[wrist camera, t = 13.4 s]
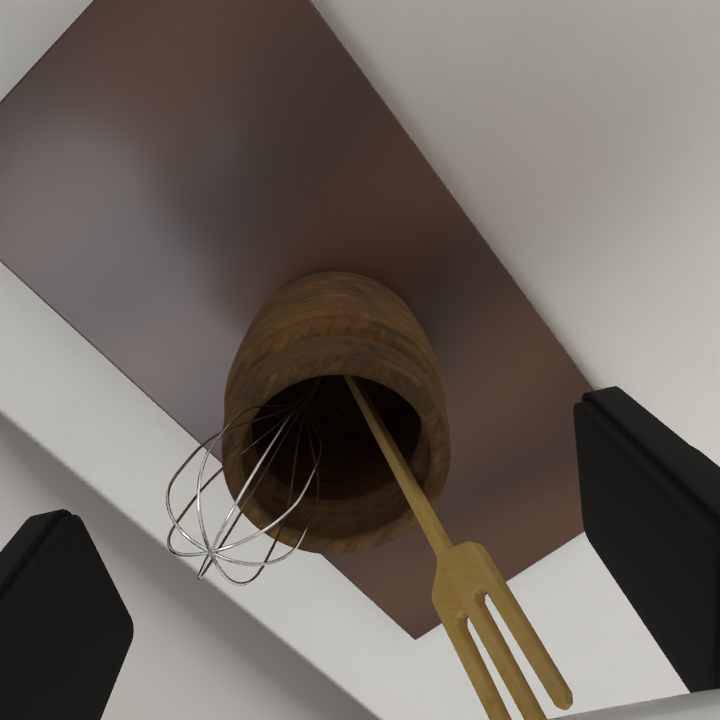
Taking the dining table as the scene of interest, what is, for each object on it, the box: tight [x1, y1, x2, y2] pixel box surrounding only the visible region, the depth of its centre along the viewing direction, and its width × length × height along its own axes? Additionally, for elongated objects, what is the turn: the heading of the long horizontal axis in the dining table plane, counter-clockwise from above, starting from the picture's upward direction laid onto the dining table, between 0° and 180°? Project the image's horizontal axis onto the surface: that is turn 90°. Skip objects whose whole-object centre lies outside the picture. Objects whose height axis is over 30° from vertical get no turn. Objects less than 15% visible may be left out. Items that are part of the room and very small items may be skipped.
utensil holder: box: [166, 271, 573, 720], centre depth 13 cm, size 6×6×12 cm
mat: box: [0, 0, 594, 640], centre depth 19 cm, size 24×12×1 cm, turn 40°
